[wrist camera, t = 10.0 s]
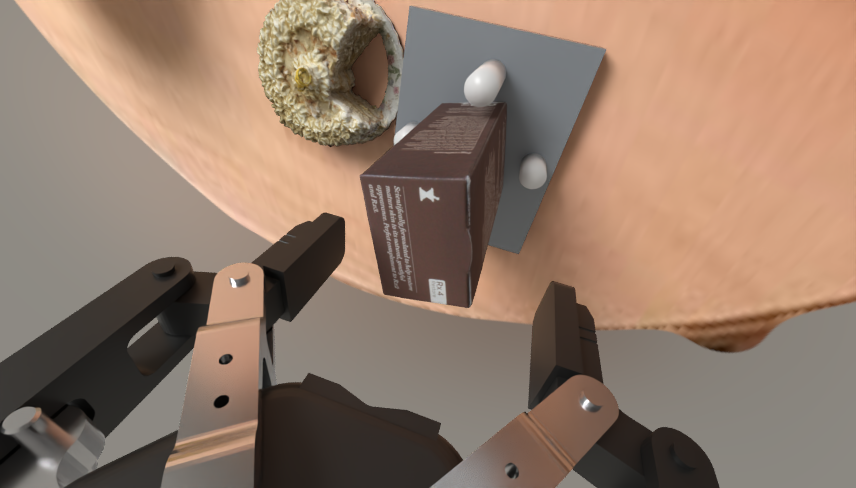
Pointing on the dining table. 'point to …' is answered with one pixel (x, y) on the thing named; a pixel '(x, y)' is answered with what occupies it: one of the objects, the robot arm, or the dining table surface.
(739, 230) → the dining table surface
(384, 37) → the sea snail shell
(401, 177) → the box
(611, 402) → the robot arm
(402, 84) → the pin tray
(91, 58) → the dining table surface
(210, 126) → the dining table surface
